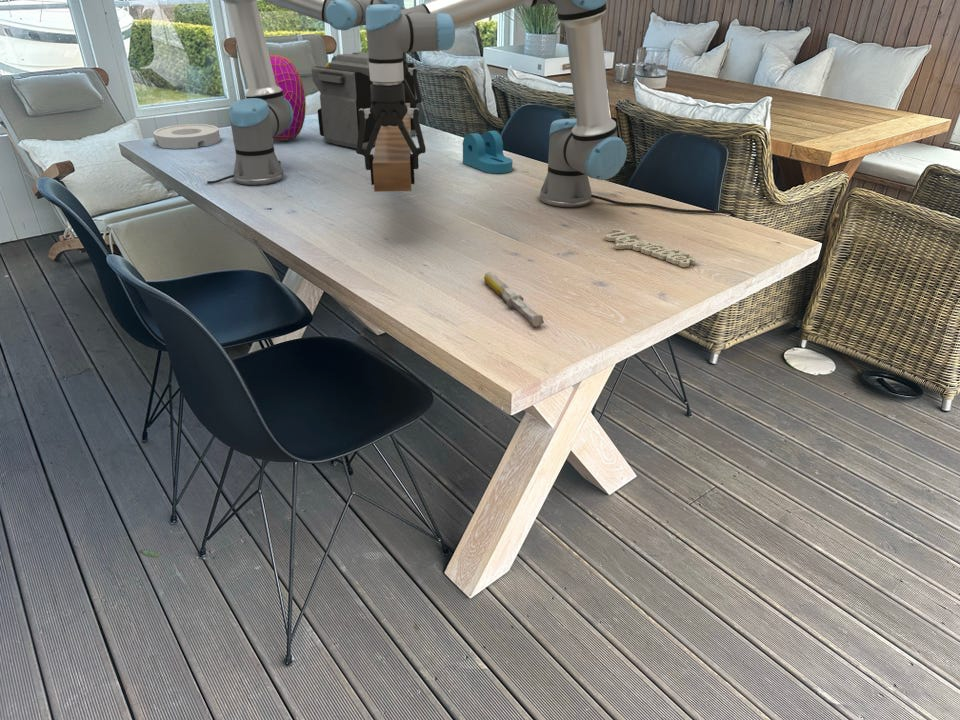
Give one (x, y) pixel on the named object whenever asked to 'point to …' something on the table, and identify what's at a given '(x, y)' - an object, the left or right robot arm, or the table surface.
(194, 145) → the beige round base
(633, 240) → the decorative sign
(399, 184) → the wide beam
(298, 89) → the decorative egg
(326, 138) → the cooler box
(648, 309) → the table surface
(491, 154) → the camera mount
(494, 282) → the syringe
